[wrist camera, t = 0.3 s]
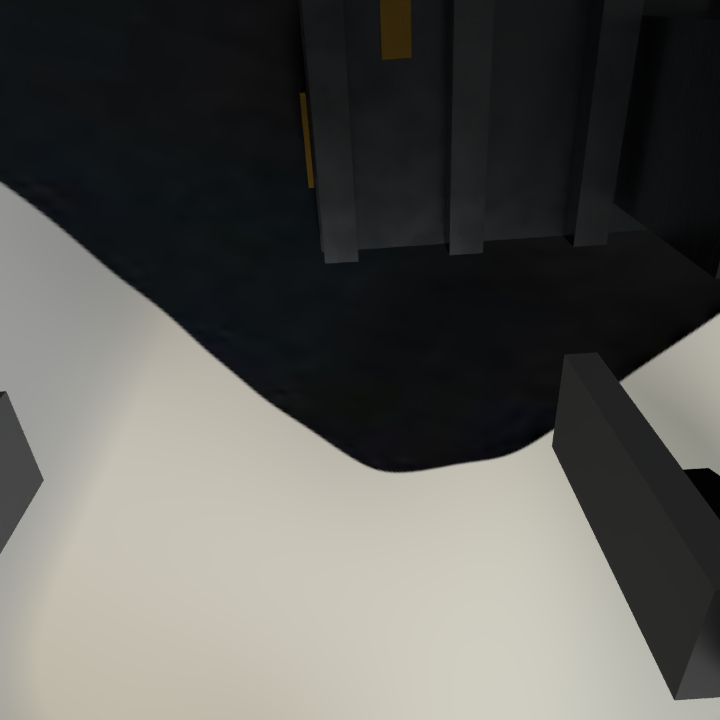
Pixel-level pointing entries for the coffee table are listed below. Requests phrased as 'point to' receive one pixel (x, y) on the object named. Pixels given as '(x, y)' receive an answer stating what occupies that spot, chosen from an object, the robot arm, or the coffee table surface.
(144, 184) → the coffee table surface
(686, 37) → the rack
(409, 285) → the coffee table surface
